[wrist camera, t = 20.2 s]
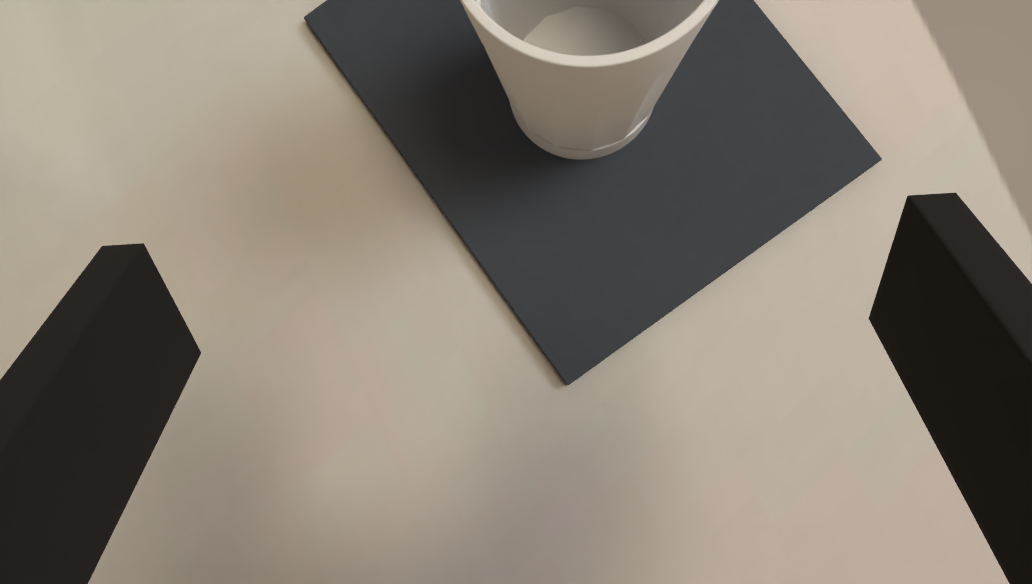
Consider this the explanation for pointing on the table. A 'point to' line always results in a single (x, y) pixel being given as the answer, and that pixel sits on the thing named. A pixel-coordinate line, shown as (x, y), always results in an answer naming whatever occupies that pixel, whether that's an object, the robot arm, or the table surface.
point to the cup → (585, 64)
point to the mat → (602, 166)
